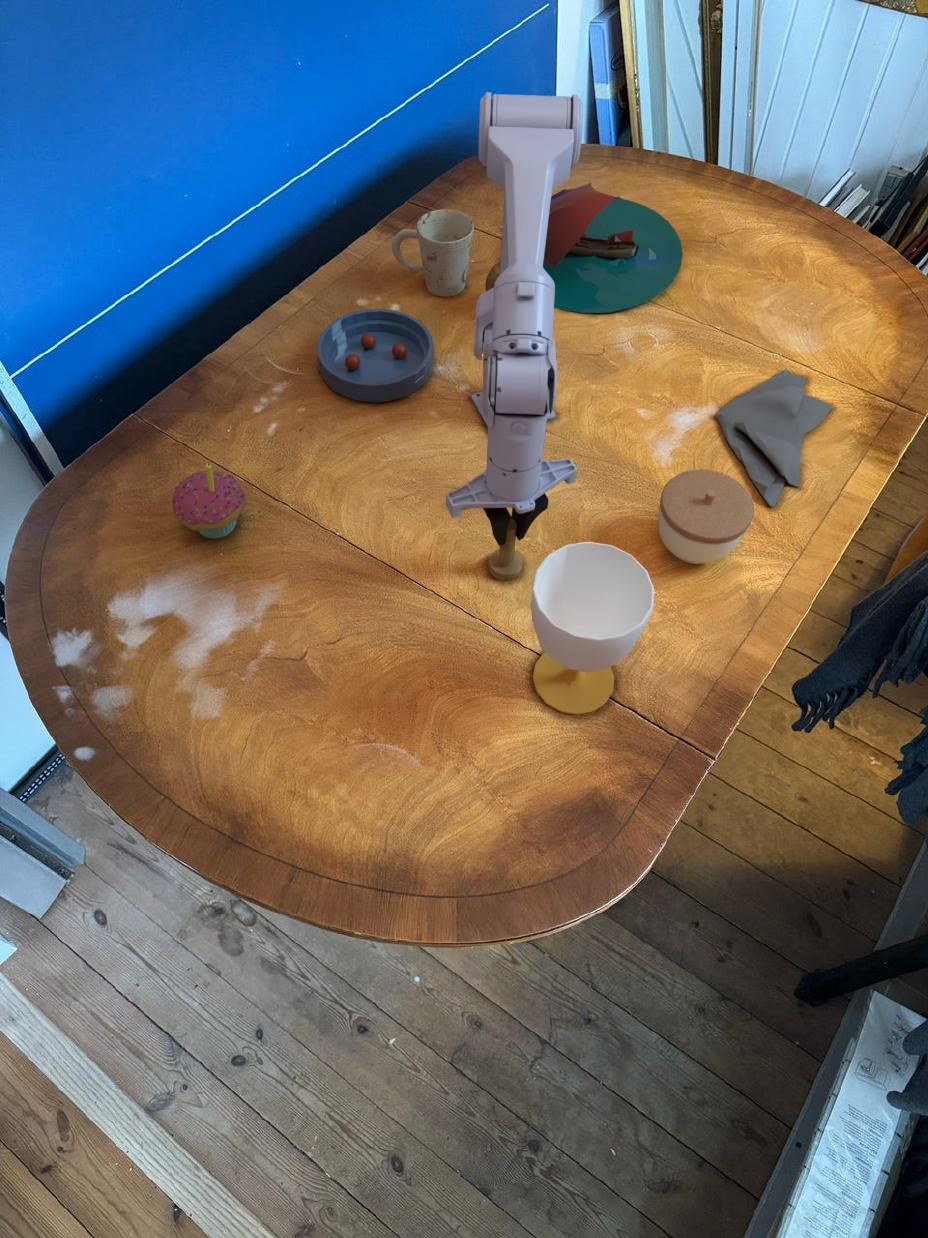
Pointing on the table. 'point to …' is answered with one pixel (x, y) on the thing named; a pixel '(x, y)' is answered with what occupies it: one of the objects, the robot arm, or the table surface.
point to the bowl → (376, 355)
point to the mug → (440, 250)
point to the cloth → (772, 430)
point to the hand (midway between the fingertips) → (507, 536)
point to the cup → (586, 622)
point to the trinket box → (703, 515)
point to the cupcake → (208, 502)
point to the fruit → (493, 276)
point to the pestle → (506, 557)
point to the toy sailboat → (607, 251)
